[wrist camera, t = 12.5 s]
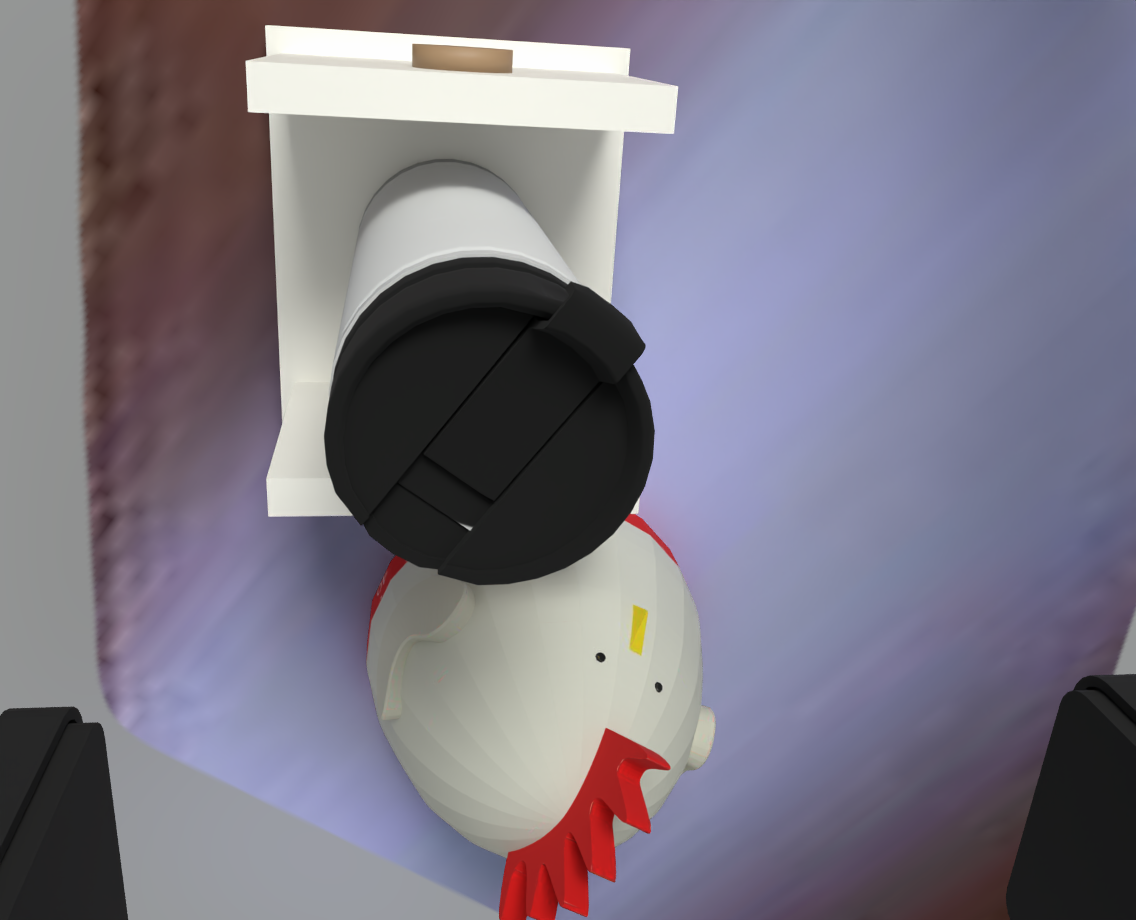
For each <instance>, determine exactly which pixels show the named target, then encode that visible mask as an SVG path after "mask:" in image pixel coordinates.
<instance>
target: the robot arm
mask: <svg viewBox="0 0 1136 920" xmlns="http://www.w3.org/2000/svg"><path fill="white" fill-rule="evenodd" d="M120 861H121V860H120V853H119V845H118V838H117V830H116V821H115V813H114V806H113V798H112V790H111V782H110V774H109V767H108V759H107V751H106V743H105V736H104V731H103V728H102V726H101V724H100V723H98V722H97V723H83V721H82V716H81V714H80V712H79V710H78V709H77V708H75V707H46V708H16V709H15V708H13V709H8V710H5V711H4V712H3V713H2V714H1V716H0V920H128V915H127V907H126V899H125V892H124V884H123V876H122V869H121V862H120ZM1006 904H1007V909H1008V914H1009V917H1010V920H1136V674H1126V675H1094V676H1087V677H1084V678H1082V679H1081V680H1080V681H1079V682H1078V683H1077V684H1076V686H1075V688H1074V690H1073V691H1070V692H1068V693H1067V694H1066V695H1065V696H1064V697H1063V699H1062V701H1061V703H1060V706H1059V710H1058V713H1057V716H1056V720H1055V723H1054V727H1053V730H1052V734H1051V737H1050V741H1049V744H1048V748H1047V751H1046V755H1045V758H1044V762H1043V765H1042V769H1041V772H1040V776H1039V779H1038V783H1037V786H1036V790H1035V793H1034V797H1033V800H1032V804H1031V807H1030V811H1029V814H1028V817H1027V821H1026V824H1025V828H1024V831H1023V835H1022V838H1021V842H1020V845H1019V849H1018V852H1017V856H1016V859H1015V863H1014V866H1013V870H1012V873H1011V877H1010V880H1009V884H1008V887H1007V893H1006Z"/></svg>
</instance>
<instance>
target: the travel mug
mask: <svg viewBox="0 0 1136 920" xmlns="http://www.w3.org/2000/svg"><path fill="white" fill-rule="evenodd" d="M644 350H645V343H644V342H643V341H642V339H641V338H640V336H639V334H638V333H637V331H636V329H635V328H634V326H633V324H632V323H631V321H630V320H628V319H627V318H626V317H625V316H624V315H623V314H622V313H620V312H619V311H618V310H617V309H616V308H615V307H614V306H613V305H611V304H610V303H609V302H607V301H606V300H605V299H603V298H602V297H601V296H599V295H598V294H597V293H595V292H594V291H593V290H591V289H590V288H589V287H586V286H583V285H581V284H580V282H579V281H578V280H577V278H576V277H575V275H574V274H573V273H572V271H571V270H570V268H569V267H568V266H567V264H566V263H565V261H564V260H563V258H562V257H561V256H560V254H559V253H558V251H557V250H556V249H555V247H554V246H553V244H552V243H551V242H550V240H549V239H548V237H547V236H546V235H545V233H544V232H543V230H542V229H541V227H540V226H539V225H538V223H537V222H536V220H535V219H534V218H533V216H532V215H531V213H530V212H529V211H528V209H527V208H526V206H525V205H524V204H523V202H522V201H521V199H520V198H519V196H518V195H517V194H516V192H515V191H514V190H513V189H512V188H511V187H510V186H509V185H508V184H507V183H506V182H505V181H504V180H503V179H501V178H500V177H499V176H497V175H496V174H494V173H493V172H491V171H490V170H488V169H486V168H483V167H481V166H479V165H476V164H474V163H471V162H466V161H461V160H456V159H433V160H429V161H424V162H419V163H416V164H414V165H412V166H409V167H407V168H405V169H403V170H401V171H399V172H398V173H397V174H395V175H394V176H392V177H391V178H390V179H388V180H387V181H386V182H385V183H384V184H383V185H382V186H381V187H380V188H379V189H378V190H377V192H376V193H375V194H374V195H373V197H372V199H371V200H370V202H369V204H368V205H367V207H366V209H365V212H364V214H363V217H362V220H361V223H360V226H359V231H358V236H357V242H356V247H355V252H354V257H353V262H352V267H351V272H350V278H349V283H348V288H347V293H346V298H345V303H344V309H343V314H342V319H341V324H340V329H339V334H338V339H337V345H336V350H335V356H334V360H333V365H332V373H331V380H330V388H329V402H328V408H327V416H326V423H325V431H324V444H325V455H326V465H327V469H328V472H329V475H330V478H331V481H332V484H333V487H334V490H335V493H336V495H337V496H338V497H339V498H340V500H341V501H342V502H343V503H344V505H345V506H346V507H347V508H348V510H349V511H350V512H351V514H352V515H353V516H354V517H355V519H356V520H357V521H358V522H359V524H360V525H362V524H364V526H365V528H366V530H367V532H368V533H369V535H370V536H371V537H372V538H373V539H375V540H376V541H377V542H378V543H380V544H381V545H382V546H384V547H385V548H386V549H387V550H389V551H390V552H391V553H393V554H394V555H396V556H398V557H400V558H402V559H404V560H406V561H408V562H410V563H412V564H414V565H416V566H418V567H421V568H429V569H437V570H438V575H441V576H445V577H449V578H452V579H456V580H460V581H464V582H468V583H471V584H475V585H504V584H513V583H518V582H523V581H528V580H533V579H538V578H541V577H543V576H546V575H549V574H551V573H554V572H557V571H559V570H562V569H565V568H567V567H569V566H570V565H572V564H574V563H575V562H577V561H579V560H581V559H582V558H584V557H586V556H587V555H589V554H591V553H592V552H593V551H594V550H596V549H597V548H598V547H599V546H600V545H601V544H603V543H604V542H605V541H606V540H607V539H609V538H610V537H611V536H612V535H613V534H614V533H615V532H616V531H617V529H618V528H619V527H620V526H621V524H622V523H623V522H624V521H625V519H626V518H627V517H628V516H629V514H630V513H631V512H632V510H633V508H634V506H635V504H636V503H637V501H638V499H639V497H640V495H641V493H642V491H643V489H644V487H645V484H646V481H647V477H648V474H649V470H650V467H651V464H652V460H653V448H654V433H655V430H654V423H653V417H652V410H651V403H650V400H649V397H648V395H647V392H646V390H645V387H644V384H643V382H642V380H641V378H640V376H639V374H638V372H637V370H636V368H635V367H634V365H633V364H634V363H635V362H636V360H637V359H638V358H639V357H640V356H641V355H642V353H643V352H644Z"/></svg>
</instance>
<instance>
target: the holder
mask: <svg viewBox="0 0 1136 920" xmlns="http://www.w3.org/2000/svg"><path fill="white" fill-rule="evenodd" d="M265 29H266V53H267V56H266V57H262V58H257V59H253V60H248V61H246V77H247V97H248V112H258V113H269V123H270V146H271V170H272V193H273V217H274V240H275V263H276V287H277V310H278V334H279V357H280V380H281V404H282V427H281V430H280V434H279V437H278V441H277V444H276V448H275V451H274V454H273V458H272V461H271V465H270V468H269V472H268V475H267V478H266V479H267V499H268V517H270V516H353V515H352V514H351V512H350V511H349V510H348V508H347V507H346V506H345V505H344V503H343V502H342V501H341V500H340V498H339V497H338V496H337V495H336V493H335V490H334V487H333V484H332V481H331V478H330V475H329V472H328V469H327V465H326V455H325V444H324V431H325V423H326V416H327V408H328V402H329V388H330V380H331V373H332V365H333V360H334V356H335V350H336V345H337V339H338V334H339V329H340V324H341V319H342V314H343V309H344V303H345V298H346V293H347V288H348V283H349V278H350V272H351V267H352V262H353V257H354V252H355V247H356V242H357V236H358V231H359V226H360V223H361V220H362V217H363V214H364V212H365V209H366V207H367V205H368V204H369V202H370V200H371V199H372V197H373V195H374V194H375V193H376V192H377V190H378V189H379V188H380V187H381V186H382V185H383V184H384V183H385V182H386V181H387V180H388V179H390V178H391V177H392V176H394V175H395V174H397V173H398V172H399V171H401V170H403V169H405V168H407V167H409V166H412V165H414V164H416V163H419V162H424V161H429V160H433V159H456V160H461V161H466V162H471V163H474V164H476V165H479V166H481V167H483V168H486V169H488V170H490V171H491V172H493V173H494V174H496V175H497V176H499V177H500V178H501V179H503V180H504V181H505V182H506V183H507V184H508V185H509V186H510V187H511V188H512V189H513V190H514V191H515V192H516V194H517V195H518V196H519V198H520V199H521V201H522V202H523V204H524V205H525V206H526V208H527V209H528V211H529V212H530V213H531V215H532V216H533V218H534V219H535V220H536V222H537V223H538V225H539V226H540V227H541V229H542V230H543V232H544V233H545V235H546V236H547V237H548V239H549V240H550V242H551V243H552V244H553V246H554V247H555V249H556V250H557V251H558V253H559V254H560V256H561V257H562V258H563V260H564V261H565V263H566V264H567V266H568V267H569V268H570V270H571V271H572V273H573V274H574V275H575V277H576V278H577V280H578V281H579V282H580V284H581V285H583V286H586V287H589V288H590V289H591V290H593V291H594V292H595V293H597V294H598V295H599V296H601V297H602V298H603V299H605V300H606V301H607V302H609V303H610V304H611V293H612V280H613V267H614V254H615V241H616V228H617V215H618V202H619V189H620V176H621V163H622V150H623V137H624V131H627V132H646V133H666V134H674V126H675V115H676V104H677V94H678V86H674V85H669V84H664V83H659V82H655V81H650V80H645V79H640V78H636V77H631V76H628V72H629V59H630V49H627V48H613V47H598V46H582V45H567V44H551V43H536V42H520V41H505V40H489V39H473V38H458V37H442V36H427V35H411V34H396V33H380V32H365V31H349V30H333V29H318V28H302V27H287V26H271V25H265ZM639 499H640V497H639ZM639 499H638V501H637V503H636V504H635V506H634V508H633V510H632V512H631V513H630V514H638V509H639Z"/></svg>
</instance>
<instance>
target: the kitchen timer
mask: <svg viewBox="0 0 1136 920" xmlns="http://www.w3.org/2000/svg"><path fill="white" fill-rule="evenodd" d="M366 665H367V672H368V677H369V681H370V686H371V690H372V695H373V699H374V704H375V708H376V712H377V716H378V720H379V723H380V725H381V728H382V730H383V732H384V734H385V736H386V738H387V740H388V742H389V744H390V746H391V748H392V749H393V751H394V753H395V755H396V757H397V758H398V760H399V762H400V764H401V765H402V767H403V769H404V770H405V772H406V774H407V775H408V777H409V778H410V780H411V782H412V783H413V785H414V786H415V788H416V790H417V791H418V793H419V794H420V796H421V798H422V799H423V800H424V802H425V803H426V804H427V805H428V807H429V808H430V809H431V810H432V811H433V812H434V813H436V814H437V815H438V816H439V817H440V818H441V819H443V820H444V821H445V822H446V823H448V824H449V825H450V826H451V827H452V828H454V829H455V830H456V831H457V832H458V833H460V834H461V835H462V836H463V837H465V838H466V839H467V840H468V841H470V842H471V843H473V844H475V845H477V846H479V847H481V848H483V849H486V850H488V851H490V852H493V853H495V854H497V855H500V856H502V857H504V858H507V860H506V865H505V870H504V876H503V882H502V889H501V897H500V907H499V919H500V920H526V917H527V916H529V917H531V918H534V919H536V920H555V916H556V911H557V905H558V902H559V904H560V906H561V907H563V908H565V909H568V910H570V911H573V912H575V913H577V914H580V915H582V916H585V917H587V916H588V909H589V898H588V871H589V872H591V873H593V874H596V875H598V876H600V877H603V878H605V879H607V880H610V881H612V882H615V880H616V859H615V847H617V846H618V845H620V844H622V843H623V842H625V841H627V840H629V839H630V838H631V837H632V836H633V835H635V834H636V833H637V832H638V831H639V830H641V831H644V832H646V833H648V834H649V833H650V832H651V824H650V819H651V818H652V817H653V816H654V815H655V814H656V813H657V812H658V811H659V810H660V808H661V807H662V805H663V803H664V802H665V800H666V799H667V797H668V795H669V794H670V792H671V790H672V789H673V787H674V785H675V784H676V782H677V780H678V779H679V777H680V776H681V775H682V774H683V773H684V772H685V771H687V770H696V769H698V768H700V767H701V766H702V765H703V764H704V763H705V761H706V760H707V758H708V756H709V754H710V751H711V748H712V745H713V740H714V735H715V726H716V722H715V715H714V713H713V711H712V710H711V709H710V708H709V707H706V706H703V705H701V699H702V682H703V663H702V649H701V636H700V623H699V617H698V612H697V609H696V606H695V603H694V601H693V598H692V596H691V594H690V591H689V589H688V587H687V584H686V582H685V580H684V577H683V575H682V573H681V570H680V568H679V566H678V564H677V562H676V560H675V558H674V556H673V555H672V553H671V551H670V549H669V548H668V547H667V546H666V545H665V544H664V542H663V541H662V540H661V539H660V538H659V537H658V536H657V535H656V534H655V532H654V531H653V530H652V529H651V528H650V527H649V526H648V525H647V524H646V523H645V521H644V520H643V519H642V518H640V517H638V516H637V515H635V514H629V516H628V517H627V518H626V519H625V521H624V522H623V523H622V524H621V526H620V527H619V528H618V529H617V531H616V532H615V533H614V534H613V535H612V536H611V537H610V538H609V539H607V540H606V541H605V542H604V543H603V544H601V545H600V546H599V547H598V548H597V549H596V550H594V551H593V552H592V553H591V554H589V555H587V556H586V557H584V558H582V559H581V560H579V561H577V562H575V563H574V564H572V565H570V566H569V567H567V568H565V569H562V570H559V571H557V572H554V573H551V574H549V575H546V576H543V577H541V578H538V579H533V580H528V581H523V582H518V583H513V584H504V585H475V584H471V583H468V582H464V581H460V580H456V579H452V578H449V577H445V576H441V575H438V570H437V569H429V568H421V567H418V566H416V565H414V564H412V563H410V562H408V561H406V560H404V559H402V558H400V557H398V556H395V557H394V558H393V559H392V560H391V562H390V564H389V566H388V568H387V570H386V572H385V574H384V577H383V579H382V581H381V583H380V585H379V587H378V589H377V591H376V594H375V596H374V598H373V600H372V606H371V615H370V623H369V631H368V640H367V657H366ZM587 869H588V871H587Z"/></svg>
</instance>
